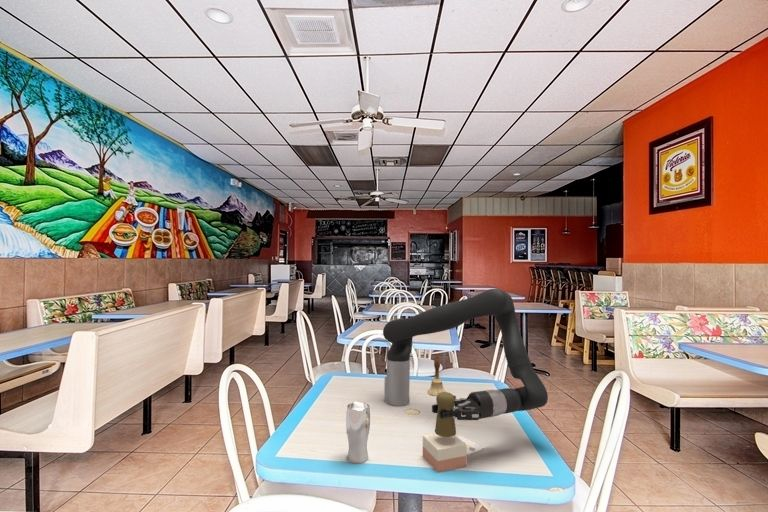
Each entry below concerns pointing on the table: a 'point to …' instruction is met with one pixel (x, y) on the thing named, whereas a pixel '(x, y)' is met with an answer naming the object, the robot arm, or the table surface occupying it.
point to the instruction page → (470, 446)
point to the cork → (446, 425)
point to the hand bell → (436, 380)
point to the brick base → (444, 463)
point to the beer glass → (357, 431)
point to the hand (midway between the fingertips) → (436, 411)
